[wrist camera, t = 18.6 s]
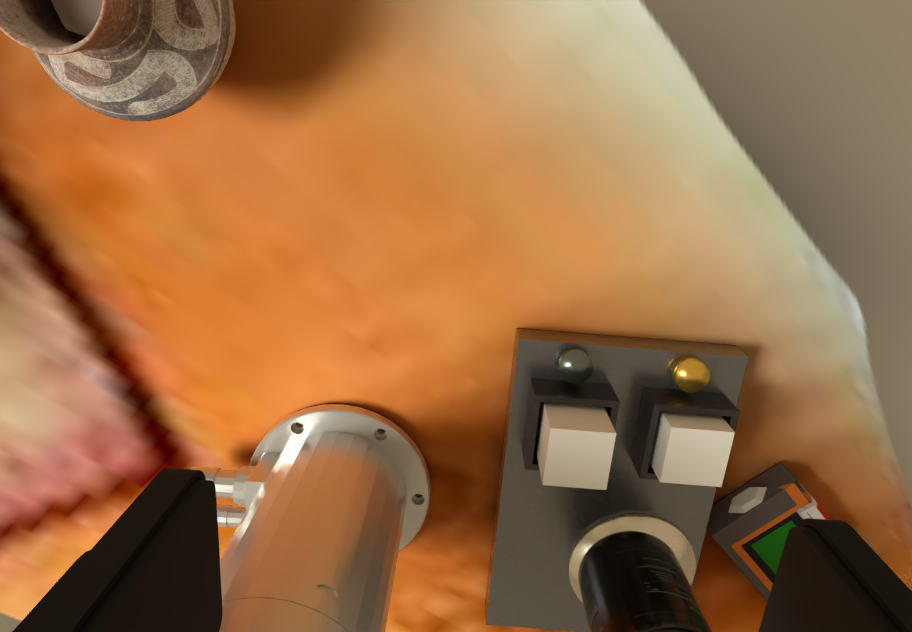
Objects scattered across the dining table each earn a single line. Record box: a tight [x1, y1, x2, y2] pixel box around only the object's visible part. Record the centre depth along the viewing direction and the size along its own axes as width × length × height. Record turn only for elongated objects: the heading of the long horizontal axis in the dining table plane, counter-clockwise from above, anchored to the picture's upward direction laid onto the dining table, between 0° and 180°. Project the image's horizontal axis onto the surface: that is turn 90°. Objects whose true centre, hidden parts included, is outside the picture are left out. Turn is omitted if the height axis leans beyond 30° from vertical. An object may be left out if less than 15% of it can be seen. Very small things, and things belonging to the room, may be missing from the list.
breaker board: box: [485, 328, 748, 632], centre depth 40 cm, size 14×22×4 cm, turn 176°
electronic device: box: [707, 462, 830, 601], centre depth 42 cm, size 7×3×15 cm
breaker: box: [536, 402, 616, 490], centre depth 35 cm, size 4×4×4 cm
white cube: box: [650, 411, 735, 487], centre depth 36 cm, size 4×4×4 cm
